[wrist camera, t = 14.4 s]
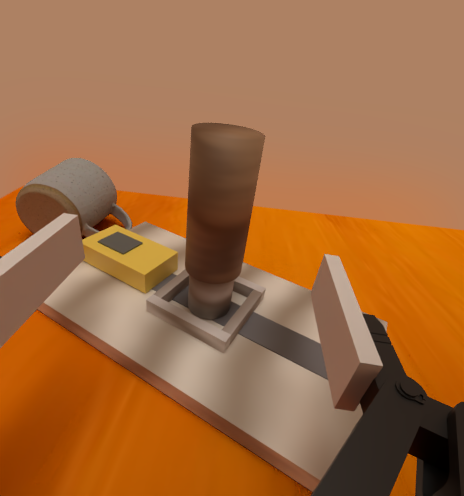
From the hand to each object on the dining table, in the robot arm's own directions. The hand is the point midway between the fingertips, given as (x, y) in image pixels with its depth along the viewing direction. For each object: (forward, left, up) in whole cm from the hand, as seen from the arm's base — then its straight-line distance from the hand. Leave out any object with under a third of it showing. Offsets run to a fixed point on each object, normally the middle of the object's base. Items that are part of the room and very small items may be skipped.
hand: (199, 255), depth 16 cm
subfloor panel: (+2, -5, -10) cm, 12 cm away
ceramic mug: (+21, -9, -10) cm, 25 cm away
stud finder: (+11, -5, -8) cm, 15 cm away
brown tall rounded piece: (+2, -5, -8) cm, 10 cm away
